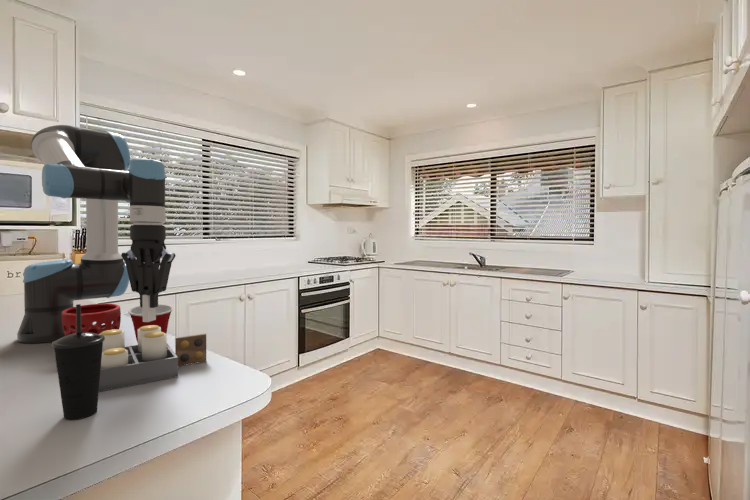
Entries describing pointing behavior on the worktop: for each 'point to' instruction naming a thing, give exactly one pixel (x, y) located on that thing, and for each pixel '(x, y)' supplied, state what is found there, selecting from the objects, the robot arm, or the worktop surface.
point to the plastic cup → (161, 320)
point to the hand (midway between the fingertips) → (149, 320)
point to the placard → (190, 349)
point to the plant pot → (92, 318)
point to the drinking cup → (79, 370)
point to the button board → (139, 370)
